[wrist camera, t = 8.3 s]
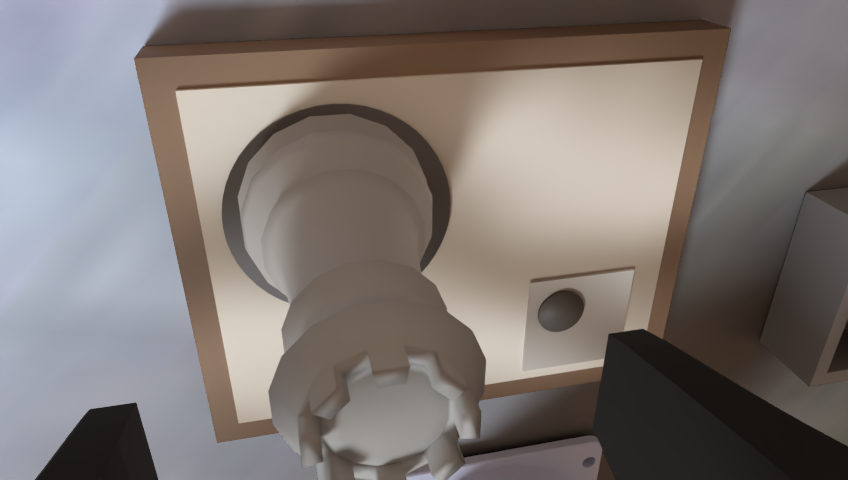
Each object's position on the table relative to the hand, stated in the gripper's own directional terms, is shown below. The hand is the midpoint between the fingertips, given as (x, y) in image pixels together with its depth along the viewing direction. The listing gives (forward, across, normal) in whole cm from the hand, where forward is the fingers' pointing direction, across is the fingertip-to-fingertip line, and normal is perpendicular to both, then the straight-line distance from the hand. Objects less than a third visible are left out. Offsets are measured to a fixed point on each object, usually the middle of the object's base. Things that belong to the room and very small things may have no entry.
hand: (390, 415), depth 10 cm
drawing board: (+8, -3, +1) cm, 9 cm away
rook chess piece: (+7, 0, -1) cm, 7 cm away
